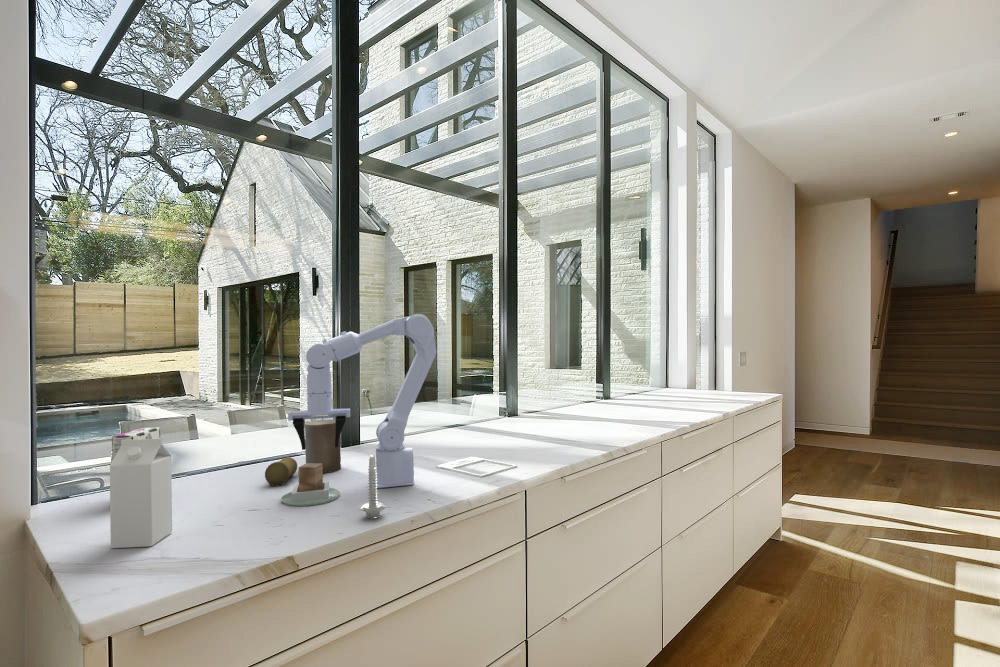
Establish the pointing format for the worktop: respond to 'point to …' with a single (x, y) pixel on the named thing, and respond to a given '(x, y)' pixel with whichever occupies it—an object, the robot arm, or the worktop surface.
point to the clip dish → (310, 496)
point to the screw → (372, 492)
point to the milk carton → (140, 494)
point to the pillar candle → (322, 444)
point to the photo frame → (472, 461)
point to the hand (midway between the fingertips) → (320, 447)
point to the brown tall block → (311, 477)
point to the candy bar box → (134, 437)
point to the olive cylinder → (280, 471)
